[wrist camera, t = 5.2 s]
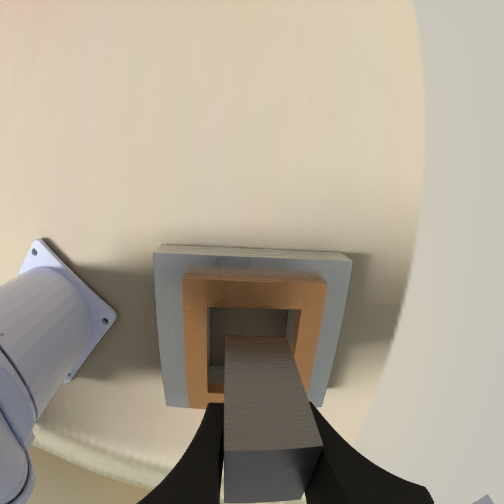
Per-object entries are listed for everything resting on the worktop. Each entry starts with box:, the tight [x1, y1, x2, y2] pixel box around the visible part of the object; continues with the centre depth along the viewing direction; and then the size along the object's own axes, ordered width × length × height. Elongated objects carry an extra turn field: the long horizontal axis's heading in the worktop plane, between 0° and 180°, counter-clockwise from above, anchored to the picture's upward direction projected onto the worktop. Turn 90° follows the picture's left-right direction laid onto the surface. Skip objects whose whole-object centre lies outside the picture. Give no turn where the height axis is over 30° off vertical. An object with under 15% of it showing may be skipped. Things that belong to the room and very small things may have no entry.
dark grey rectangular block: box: [224, 335, 323, 503], centre depth 11 cm, size 4×3×7 cm
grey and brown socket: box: [154, 244, 353, 409], centre depth 18 cm, size 16×11×3 cm
